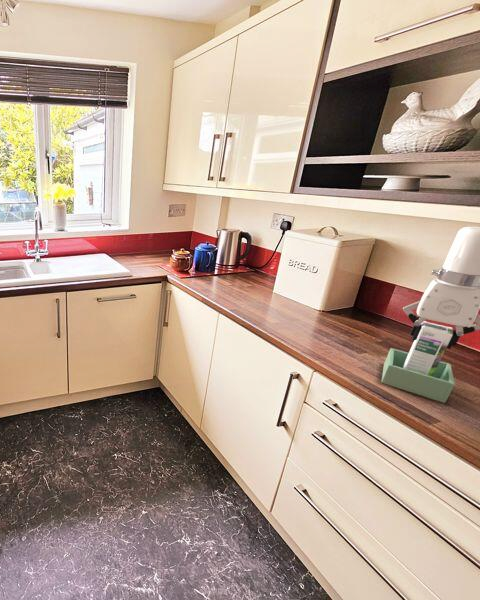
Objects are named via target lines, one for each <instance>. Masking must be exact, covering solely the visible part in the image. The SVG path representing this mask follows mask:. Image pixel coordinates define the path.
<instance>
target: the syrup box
mask: <svg viewBox="0 0 480 600" xmlns="http://www.w3.org/2000/svg"><path fill="white" fill-rule="evenodd" d="M453 331H454V328H453V327H451V326H447V325H443V324H438V323H433V322H429V321H427V320H425V321H424V322H423V323H422V324H421V330H420V332H419V335H418V337H417V339H416V340H413V343H412V345H411V347H410V349H409V351H408V353H409V354H408V356H407V358H406V361H405V363H404V366H403V368H404V369H408V370H411V371H414V372H418V373H421V374H425V375H428V376H433V374H434V372H435V370H436V368H437V366H438V364H439V362H440V361H442V358H443V356H444V354H445V352H446V350H447V346H448V344H449V342H450V340H451V337H452V335H453Z"/></svg>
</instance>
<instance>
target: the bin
mask: <svg viewBox="0 0 480 600" xmlns="http://www.w3.org/2000/svg"><path fill="white" fill-rule="evenodd" d="M408 354H409V351H403V350H401V349H397V348H392V347H390V349H389V351H388V353H387V356H386V358H385V361H384V363H383V368H382V376H381V383H382V384H384V385H386V386H387V385H388V386H391V387H393V388H397V389H400V390H404V391H406V392H410V393H413V394H415V395H419V396H421V397H425V398H428V399H430V400H434V401H438V402H440V403H444V404H446V402H447V400H448V398H449V396H450V394H451V393H452V391H453V390H454V387H455V379H454V374H453V373H454V372H453V369H452V364H451V363H449V362H446V361H442V360H440V362H439V364H438V366H437V368H436V370H435V372H434V374H433V376H428V375H425V374H421V373H418V372H414V371H411V370H408V369H404V368H403V366H404V363H405V361H406V358H407V356H408Z"/></svg>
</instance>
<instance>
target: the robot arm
mask: <svg viewBox="0 0 480 600" xmlns="http://www.w3.org/2000/svg"><path fill="white" fill-rule="evenodd" d="M430 275H432V276H436V277H437V278H433V279H432V280H431V282H430V283H429V284H428V286H427V287H426V289H425V291H424V292H423V294H422V295H421V298H420V300H418V301H416V302H413V303H410V304H408V305H405V306H403V307H402V311H403V312H404V314H405V315H406V316H407V318H408V319H409V321H411V322H412V324H413V325H412V327H411V329H410V332H409V336H411V340H412V341H414V340H416V339H417V337H418V335H419V332H420V330H421V324H422V323H423V322H424V321H427V320H429V321H433V322H439V323H442V324H447V325H451V326H454V329H453V335H452V337H451V340H450V342H449V344H448V346H447V348H446V350H447V349H448V350H451V348H452V346H453V347H456V346H457V343H458V341H459V340H460V337H462V336H464V335H468V334H471V333H474V332H476V331H480V314H479V311H480V226H464V227H462V228H460V229H459V230H458V231H457V233H456V235H455V238H454V240H453V242H452V245H451V247H450V249H449V251H448V253H447V256H446V258H445V261H444V262H443V265H442V267H441V268H439V269H433V268H432V270H431V273H430ZM413 310H416V313H414V312H413Z"/></svg>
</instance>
